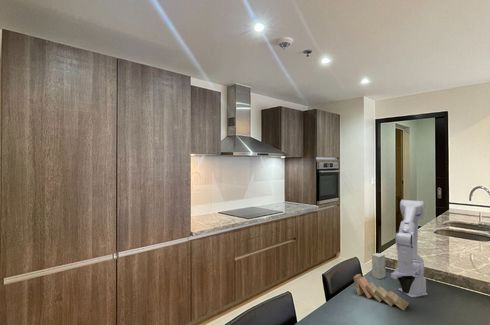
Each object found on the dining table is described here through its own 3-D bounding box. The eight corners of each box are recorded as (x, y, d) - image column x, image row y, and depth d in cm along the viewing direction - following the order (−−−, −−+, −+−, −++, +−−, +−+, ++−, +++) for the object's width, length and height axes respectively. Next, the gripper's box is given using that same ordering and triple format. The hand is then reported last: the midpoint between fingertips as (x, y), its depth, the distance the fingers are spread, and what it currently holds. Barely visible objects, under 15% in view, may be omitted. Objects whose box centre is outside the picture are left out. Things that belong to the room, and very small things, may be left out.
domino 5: (409, 303, 116) (390, 290, 122) (405, 307, 113) (386, 294, 118) (407, 306, 117) (389, 293, 122) (403, 310, 113) (385, 297, 119)
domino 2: (375, 293, 126) (364, 276, 130) (371, 297, 123) (360, 280, 126) (372, 294, 127) (361, 278, 131) (368, 298, 124) (357, 281, 127)
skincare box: (379, 279, 143) (379, 256, 142) (371, 276, 146) (371, 254, 146) (386, 276, 146) (385, 254, 146) (378, 273, 150) (377, 252, 150)
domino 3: (385, 296, 123) (370, 281, 128) (381, 300, 120) (366, 285, 124) (383, 298, 124) (368, 283, 128) (379, 302, 120) (364, 287, 125)
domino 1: (365, 291, 130) (360, 274, 131) (361, 295, 126) (356, 277, 128) (362, 291, 131) (357, 274, 132) (357, 294, 127) (353, 277, 129)
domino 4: (396, 299, 120) (379, 286, 125) (393, 303, 116) (375, 289, 121) (395, 302, 120) (378, 288, 125) (391, 306, 117) (374, 292, 122)
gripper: (408, 255, 121) (408, 285, 121) (384, 260, 116) (385, 291, 116) (424, 260, 115) (424, 292, 115) (399, 266, 109) (399, 299, 110)
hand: (405, 292), depth 115 cm, fingers closed
